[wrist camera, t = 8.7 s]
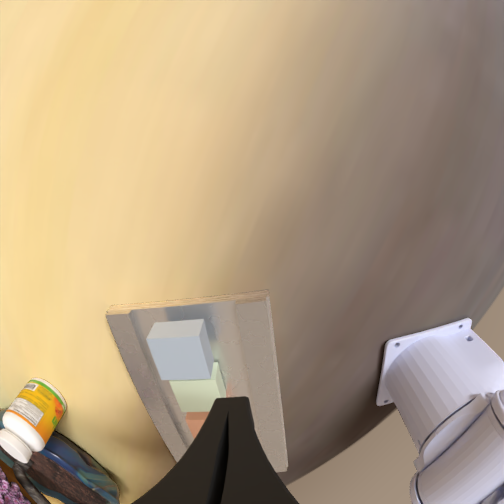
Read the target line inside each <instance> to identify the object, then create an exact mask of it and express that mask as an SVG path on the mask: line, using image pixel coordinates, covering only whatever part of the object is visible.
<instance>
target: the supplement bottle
mask: <svg viewBox="0 0 504 504" xmlns="http://www.w3.org/2000/svg"><path fill="white" fill-rule="evenodd" d="M65 410H66V402H65V400H64V398H63V396H62V395H61V393H60V392H59V391H58V390H57V389H56V388H55V387H54V386H53V385H51V384H50V383H49V382H47V381H45V380H43V379H41V378H32V379H31V380H30V381H29V382H28V383H27V384H26V386H25V387H24V388H23V390H22V391H21V392H20V393H19V395H18V396H17V397H16V399H15V400H14V401H13V403H12V404H11V405H10V407H9V408H8V409H7V411H6V412H5V414H4V415H3V419H2V420H3V425H4V427H5V429H2V430H0V445H1V447H2V448H3V449H4V450H5V451H6V452H8V453H9V454H10V455H11V456H12V457H14V458H15V459H17V460H18V461H20V462H22V463H28V461H29V459H30V457H31V455H32V451H36V452H38V451H41V450H42V449H43V448H44V447H45V445H46V443H47V441H48V440H49V438H50V436H51V434H52V432H53V431H54V429H55V427H56V426H57V424H58V422H59V421H60V419H61V417H62V416H63V414H64V412H65Z"/></svg>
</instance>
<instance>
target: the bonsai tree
mask: <svg viewBox="0 0 504 504" xmlns="http://www.w3.org/2000/svg"><path fill="white" fill-rule="evenodd" d="M6 411H7V409H0V430H2V429H5V427H4V425H3V420H2V419H3V415H4V414H5V412H6ZM0 459H1V460H2V461H4V462H5V463H6V464H7V465H8V466H9V467H11V468H12V469H13V471H14V474H15V476H16V479H17V480H18V482H19V483H20V484H21V485H22V487H23V488H24V489H25V490H26V491H27V493H28V494H29V495H30V496H31V497H32V498H33V499H34V501H35V502H36V503H37V504H51V503H50V502H49V501H48V500H47V499H46V498H45V497H44V496H43V494H45V495H48V496H51V497H54V498H57V499H59V500H60V501H62V502H63V503H65V504H120V503H119V488H118V486H117V484H116V483H115V482H114V481H113V480H112V479H111V478H110V477H109V475H108V473H107V471H106V470H104V469H103V468H102V467H101V466H100V465H99V464H98V463H97V462H96V461H95V460H94V459H93V458H92V457H91V456H90V455H88V454H87V453H85V452H84V451H83V450H81V449H80V448H78V447H77V446H76V445H74V444H73V443H72V442H71V441H69V440H68V439H67V438H65V437H64V436H62V435H60V434H59V433H57V432H55V431H53V432H52V434H51V436H50V438H49V440H48V441H47V443H46V445H45V447H44V448H43V449H42V450H41V451H38V452H36V451H32V455H31V457H30V459H29V461H28V463H22V462H20V461H18V460H17V459H15V458H14V457H12V456H11V455H10V454H9V453H8V452H6V451H5V450H4V449H3V448H2V447H1V445H0ZM41 492H42V493H43V494H42V493H41ZM4 494H5V495H4ZM22 494H23V493H21V491H20V488H19V486H18V484H16V483H15V482H10V484H9V482H8V480H7V477H6V474H4V473H3V472H2V469H1V467H0V504H32V503H31V502H30V501H29V500H28V499H27V498H26V497H24V496H23V495H22Z"/></svg>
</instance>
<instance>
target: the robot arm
mask: <svg viewBox="0 0 504 504" xmlns="http://www.w3.org/2000/svg"><path fill="white" fill-rule="evenodd" d="M471 323H472V321H471V319H470V318H466V319H463V320H460V321H457V322H453V323H450V324H447V325H443V326H440V327H437V328H433V329H430V330H426V331H422V332H419V333H415V334H411V335H407V336H403V337H399V338H395V339H391V340H389V341H387V342H386V344H385V349H384V357H383V364H382V370H381V376H380V382H379V388H378V393H377V398H376V404H377V406H382V405H386V404H389V403H393V402H394V403H395V405H396V407H397V409H398V411H399V413H400V415H401V417H402V419H403V421H404V423H405V425H406V427H407V429H408V431H409V433H410V436H411V437H412V440H413V442H414V444H415V446H416V448H417V450H418V453H419V457H417V459H416V460H414V465H415V467H416V469H417V472H416V473H415V474H414V476H413V477H412V479H411V483H410V497H411V502H412V504H504V362H503V360H502V359H501V358H500V357H499V356H498V355H497V354H496V353H495V352H494V351H493V350H492V349H491V348H490V347H489V346H488V345H487V344H486V343H485V342H484V341H483V340H482V339H481V338H480V337H479V336H478V335H476V334H475V333H474V331H472V330H471V329H470V327H471ZM396 343H397V344H396ZM395 344H396V345H395ZM131 504H299V503H298V502H297V501H296V499H295V498H294V497H293V496H292V494H291V493H290V492H289V491H288V489H287V488H286V486H285V485H284V484H283V482H282V481H281V479H280V478H279V476H278V475H277V473H276V472H275V470H274V468H273V467H272V465H271V463H270V462H269V460H268V458H267V456H266V454H265V452H264V450H263V448H262V446H261V444H260V441H259V439H258V437H257V434H256V431H255V426H254V420H253V415H252V411H251V406H250V401H249V398H248V397H246V396H241V397H226V398H216V399H215V401H214V403H213V405H212V408H211V410H210V412H209V414H208V416H207V418H206V420H205V422H204V424H203V425H202V427H201V429H200V431H199V432H198V434H197V436H196V437H195V439H194V440H193V442H192V443H191V445H190V446H189V448H188V449H187V451H186V452H185V454H184V455H183V456H182V457H181V459H180V460H179V461H178V462H177V464H176V465H175V466H174V467H173V468H172V469H171V470H170V471H169V472H168V474H167V475H166V476H165V477H164V478H163V479H162V480H161V481H160V482H158V483H157V484H156V485H155V486H154V487H153V488H151V489H150V490H149V491H148V492H147V493H145V494H144V495H143V496H142V497H140V498H139V499H137V500H136V501H134V502H133V503H131Z"/></svg>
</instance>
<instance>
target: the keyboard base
mask: <svg viewBox="0 0 504 504" xmlns="http://www.w3.org/2000/svg"><path fill="white" fill-rule="evenodd" d="M106 318H107V321H108V323H109V326H110V329H111V331H112V334H113V336H114V339H115V342H116V344H117V347H118V349H119V351H120V354H121V356H122V359H123V361H124V363H125V365H126V368H127V370H128V372H129V374H130V377H131V379H132V381H133V383H134V385H135V387H136V389H137V391H138V394H139V396H140V398H141V400H142V402H143V404H144V406H145V407H146V409H147V411H148V413H149V415H150V417H151V419H152V421H153V423H154V424H155V426H156V428H157V430H158V432H159V433H160V435H161V437H162V439H163V440H164V442H165V444H166V445H167V447H168V449H169V450H170V452H171V454H172V455H173V457H174V459H175V460H176V462H178V461H179V460H180V459H181V457H182V456H183V455H184V454H185V452H186V451H187V449H188V448H189V446H190V445H191V443H192V442H193V440H194V438H193V436H192V433H191V431H190V429H189V427H188V425H187V423H186V420H185V419H186V414H187V412H182V411H181V409H180V407H179V404H178V402H177V399H176V397H175V395H174V392H173V390H172V387H171V385H170V382H169V380H162V379H161V377H160V375H159V372H158V369H157V367H156V364H155V362H154V359H153V356H152V354H151V351H150V348H149V346H148V343H147V340H146V338H147V336H148V334H149V333H150V331H151V329H152V327H153V325H154V323H156V322H170V321H184V320H196V319H204V322H205V326H206V330H207V334H208V338H209V342H210V346H211V350H212V354H213V358H214V362H218V364H219V368H220V372H221V375H222V379H223V383H224V387H225V390H226V397H241V396H246V397H248V398H249V401H250V406H251V411H252V415H253V420H254V426H255V431H256V434H257V437H258V439H259V441H260V444H261V446H262V448H263V450H264V452H265V454H266V456H267V458H268V460H269V462H270V463H271V465H272V467H273V468H274V470H275V472H284V471H287V467H288V459H287V449H286V439H285V430H284V421H283V412H282V402H281V393H280V384H279V376H278V367H277V358H276V349H275V341H274V332H273V324H272V316H271V307H270V299H269V291H268V290H262V291H254V292H245V293H237V294H228V295H219V296H210V297H200V298H190V299H180V300H169V301H158V302H146V303H134V304H121V305H111V307H110V308H109V309H108V310H107V314H106Z"/></svg>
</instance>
